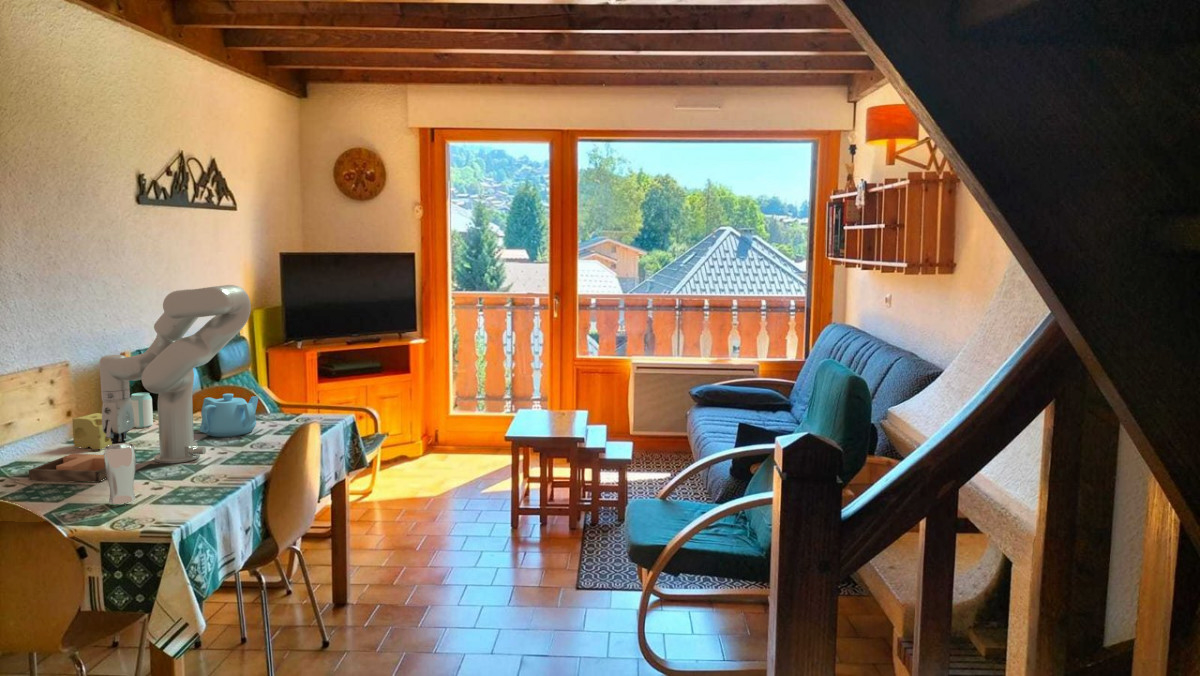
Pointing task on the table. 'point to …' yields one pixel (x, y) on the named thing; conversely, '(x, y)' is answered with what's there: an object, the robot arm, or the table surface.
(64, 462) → the t block
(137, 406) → the can
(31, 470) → the brown wooden rack
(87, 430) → the cheese
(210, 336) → the robot arm
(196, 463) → the table surface
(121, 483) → the beer glass
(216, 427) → the teapot
